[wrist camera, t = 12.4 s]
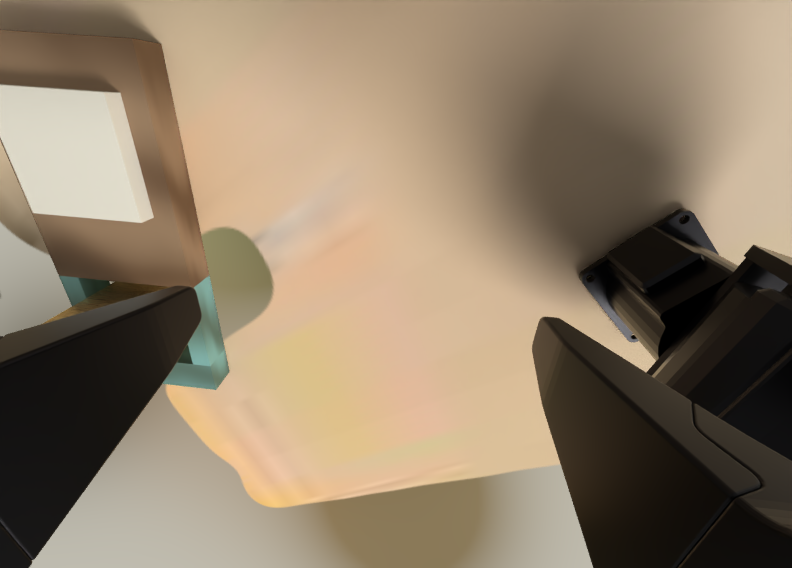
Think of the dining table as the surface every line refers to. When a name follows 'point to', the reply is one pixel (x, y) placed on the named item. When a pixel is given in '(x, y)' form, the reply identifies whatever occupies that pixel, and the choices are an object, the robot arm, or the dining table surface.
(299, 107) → the dining table surface
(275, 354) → the dining table surface
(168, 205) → the divided tray
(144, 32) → the dining table surface
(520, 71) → the dining table surface
